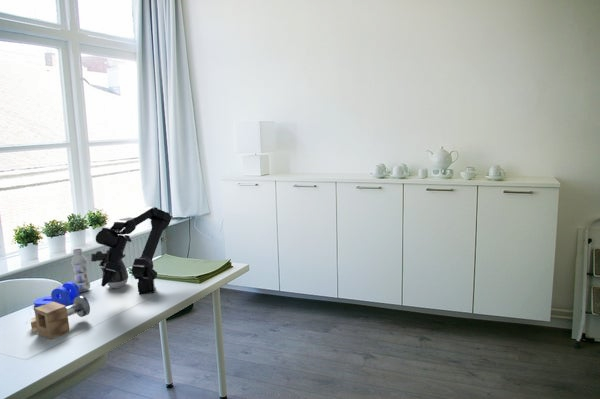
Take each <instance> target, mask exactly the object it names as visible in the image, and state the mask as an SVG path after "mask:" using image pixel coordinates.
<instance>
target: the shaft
mask: <svg viewBox="0 0 600 399" xmlns="http://www.w3.org/2000/svg"><path fill="white" fill-rule="evenodd" d="M66 308H67V315H68V317H69V316H73V315H75V314H77V316H78V317H80V318H83V317H87V316H88V315H90V312H91V307H90V303H89V301H88V299H87V298H86V296H84V295H81V294H80V296H78V297H75V298H74V301H73V305H70V306H67V307H66Z"/></svg>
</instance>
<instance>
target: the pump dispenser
mask: <svg viewBox="0 0 600 399" xmlns="http://www.w3.org/2000/svg"><path fill="white" fill-rule="evenodd" d="M125 257H126V254H124V253H123V256H122V257H121V260H120V262H119V263H120V265H121V267H122V269H121V272H117V271H116V272H117V273H116V274H115V275H114V276H113V278H112V279H111V280H110V281H109V282H108V283H107V284H106V285H107V286H109V288H112V289H118V288H119V289H120V288H122V287H124V286H125V285H126V284H127V283H128V279H129V273H128V269H127V266H126V264H125V262H124V261H123V258H125Z"/></svg>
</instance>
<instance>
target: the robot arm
mask: <svg viewBox="0 0 600 399" xmlns="http://www.w3.org/2000/svg"><path fill="white" fill-rule="evenodd" d="M148 219H149V220H150V225H151V230H150V233H149V234H148V237H147V240H146V243H145V245H144V248H143V250H142V253H141V256H140V257H137V258H136V257H135V258H134V260H133V263H132V265H131V273H132V275H133V277H134V280H138V281H137V284H136V285H137V292H138V295H145V294H153V293H155V291H156V289H157V288H156V286H155V280H156V279H157V278H158V271H156V270H154V262H153V258H154V256H155V254H156V250H157V248H158V245H159V242H160V239H161V236H162V234H163V231H164V230H166V229H167V228H169V225H170V223H171V222H172V216H171V214H170V213H169V212H167V211H164V210H162V209H160V208H158V207H156V206H146V207H144V208H143V209H141V210H139V211H138V212H135V213H134V214H133V215H131V216H128V217H125V218H119V219H117V220H115V221H114V222H113V224H112V225H111V226H110V227H102V228H101V230H99V231H98V233H97V234H96V235H95V241H96V243H97V244H99V245H102V246H105V247H108V249H107V250H106V252H102V251H101V250H96V251H95V252H92V253H90V262H99V264H98V266H100V270H101V271H102V277H101V284H100V286H101V287H105V286H107V285H108V284H107V283H108V282H109V281H110V280H111V279H112V278H113V276H114V275H115V274H116V273H117V272H121V269H122V267H121V265H120V263H119V262H120V260H121V257H122V256H123V255H124V252H125V249H126V246H127V243H128V242H130V243H132V239H131V238H130V237H131V236H130V234H132V233H133V232H134V231H135V230H136V229H137V226H138V225H141V224H142V223H144V222H145V221H146V220H148ZM116 271H117V272H116Z"/></svg>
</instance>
